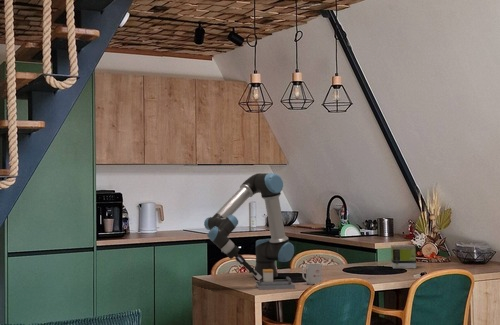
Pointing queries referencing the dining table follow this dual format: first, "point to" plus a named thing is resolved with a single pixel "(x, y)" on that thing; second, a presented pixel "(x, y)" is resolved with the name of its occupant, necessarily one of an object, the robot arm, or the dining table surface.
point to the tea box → (403, 256)
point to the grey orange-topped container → (267, 275)
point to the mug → (312, 273)
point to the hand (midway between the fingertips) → (260, 278)
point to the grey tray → (276, 284)
